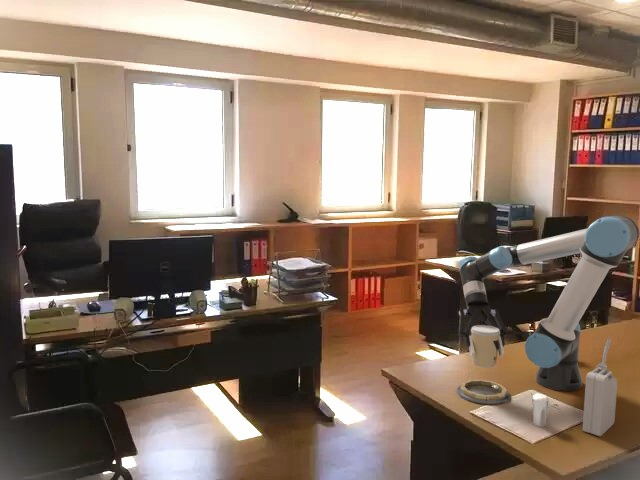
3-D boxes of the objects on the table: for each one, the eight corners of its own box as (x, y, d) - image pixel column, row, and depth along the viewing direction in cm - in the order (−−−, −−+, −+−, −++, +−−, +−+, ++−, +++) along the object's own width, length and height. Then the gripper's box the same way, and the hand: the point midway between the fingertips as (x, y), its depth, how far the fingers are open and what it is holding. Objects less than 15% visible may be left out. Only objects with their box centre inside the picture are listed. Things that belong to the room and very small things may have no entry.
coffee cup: (500, 369, 178) (501, 333, 176) (470, 367, 180) (472, 331, 178) (496, 359, 187) (498, 325, 186) (468, 357, 189) (470, 323, 187)
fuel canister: (599, 415, 169) (605, 336, 166) (617, 420, 166) (623, 340, 163) (581, 431, 158) (587, 347, 155) (599, 437, 155) (606, 352, 152)
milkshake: (525, 421, 165) (527, 389, 164) (542, 420, 165) (544, 388, 164) (532, 428, 160) (534, 395, 159) (550, 427, 161) (552, 394, 159)
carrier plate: (512, 389, 189) (512, 383, 188) (506, 408, 173) (507, 401, 173) (462, 381, 196) (462, 375, 195) (452, 399, 180) (453, 392, 180)
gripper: (503, 302, 197) (516, 360, 183) (442, 301, 196) (452, 359, 183) (509, 291, 191) (523, 350, 177) (447, 290, 190) (457, 349, 177)
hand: (487, 355), depth 180 cm, fingers closed on coffee cup, 9 cm apart
